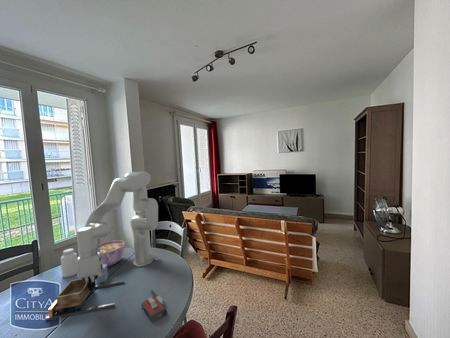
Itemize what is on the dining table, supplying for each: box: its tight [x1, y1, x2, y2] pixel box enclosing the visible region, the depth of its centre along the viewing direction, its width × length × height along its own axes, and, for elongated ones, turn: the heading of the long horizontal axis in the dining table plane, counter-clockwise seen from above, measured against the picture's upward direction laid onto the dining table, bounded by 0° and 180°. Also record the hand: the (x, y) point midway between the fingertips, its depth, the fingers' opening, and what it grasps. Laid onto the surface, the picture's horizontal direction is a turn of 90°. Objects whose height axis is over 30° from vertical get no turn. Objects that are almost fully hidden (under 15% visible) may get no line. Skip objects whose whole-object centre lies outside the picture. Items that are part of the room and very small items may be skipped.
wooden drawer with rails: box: [45, 280, 125, 321], centre depth 99 cm, size 27×19×5 cm
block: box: [95, 264, 109, 284], centre depth 115 cm, size 4×4×8 cm
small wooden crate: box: [55, 276, 94, 314], centre depth 98 cm, size 10×15×8 cm, turn 14°
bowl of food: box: [97, 239, 125, 267], centre depth 134 cm, size 20×20×12 cm
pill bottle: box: [60, 248, 78, 278], centre depth 123 cm, size 8×8×15 cm
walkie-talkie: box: [141, 289, 168, 323], centre depth 92 cm, size 9×4×20 cm
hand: (91, 288), depth 99 cm, fingers closed
